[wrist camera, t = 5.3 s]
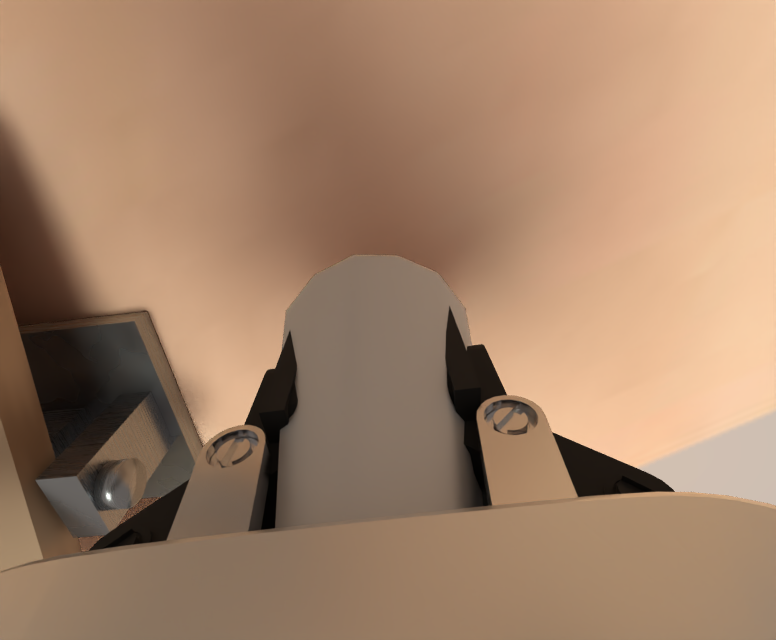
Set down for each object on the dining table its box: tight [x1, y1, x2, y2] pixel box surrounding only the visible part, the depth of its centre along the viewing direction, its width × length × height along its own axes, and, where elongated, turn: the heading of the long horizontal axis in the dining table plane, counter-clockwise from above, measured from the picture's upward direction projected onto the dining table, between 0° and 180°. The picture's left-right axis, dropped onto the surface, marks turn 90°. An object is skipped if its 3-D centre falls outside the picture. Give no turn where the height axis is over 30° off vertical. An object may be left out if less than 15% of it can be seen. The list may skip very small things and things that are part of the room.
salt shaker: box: [275, 255, 483, 528], centre depth 9 cm, size 6×6×13 cm
